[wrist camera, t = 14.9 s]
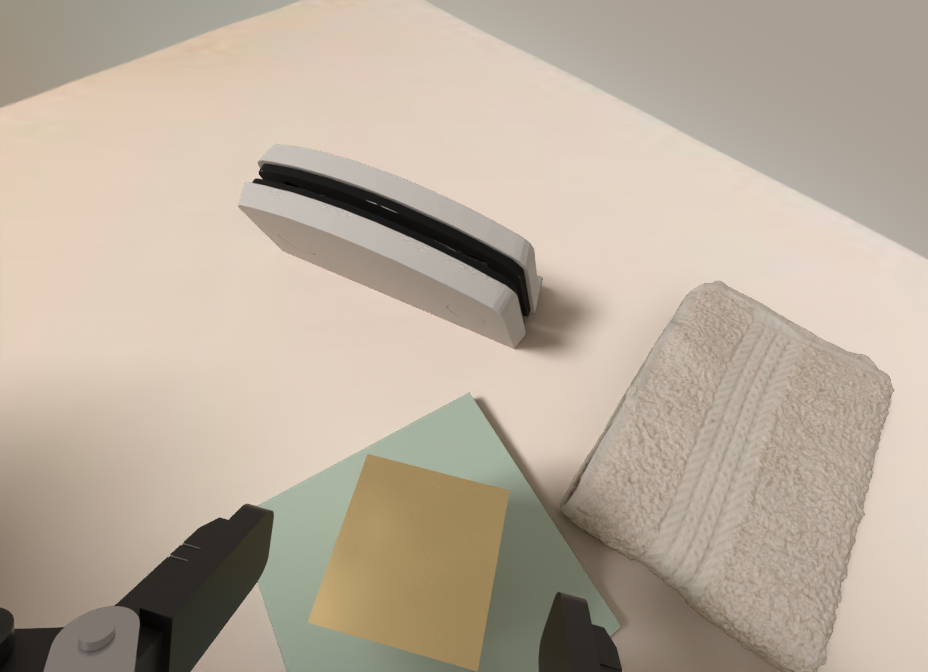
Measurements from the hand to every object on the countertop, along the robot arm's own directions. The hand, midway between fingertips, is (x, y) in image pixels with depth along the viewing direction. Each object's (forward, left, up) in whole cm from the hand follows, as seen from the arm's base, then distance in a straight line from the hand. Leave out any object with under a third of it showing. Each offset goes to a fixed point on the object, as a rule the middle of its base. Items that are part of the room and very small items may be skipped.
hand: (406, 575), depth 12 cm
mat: (0, +1, -8) cm, 9 cm away
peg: (0, 0, -7) cm, 8 cm away
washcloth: (+3, +18, -9) cm, 20 cm away
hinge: (-15, +7, -9) cm, 19 cm away
